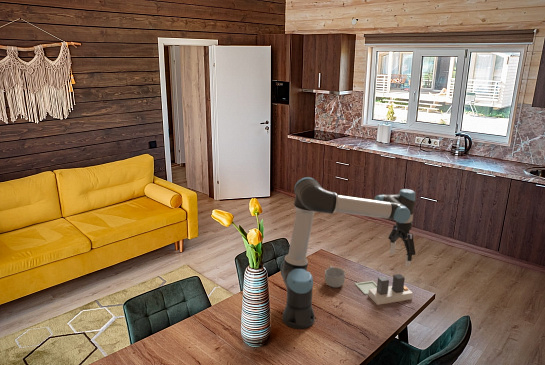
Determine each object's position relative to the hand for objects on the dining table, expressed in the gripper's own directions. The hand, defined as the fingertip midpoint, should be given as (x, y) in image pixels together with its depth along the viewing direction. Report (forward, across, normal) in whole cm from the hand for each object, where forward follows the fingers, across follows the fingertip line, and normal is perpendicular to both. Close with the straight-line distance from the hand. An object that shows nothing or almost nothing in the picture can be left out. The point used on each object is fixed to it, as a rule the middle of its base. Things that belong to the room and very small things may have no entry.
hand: (399, 259), depth 215 cm
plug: (+20, 0, -1) cm, 20 cm away
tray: (+21, +10, +9) cm, 25 cm away
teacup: (+21, +20, +26) cm, 39 cm away
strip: (+21, 0, +3) cm, 21 cm away
